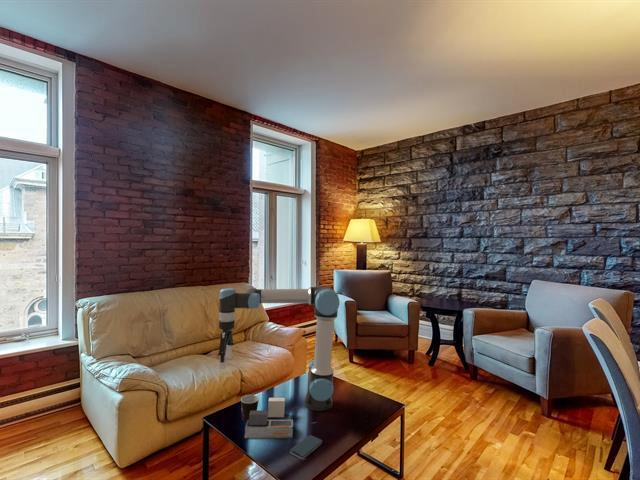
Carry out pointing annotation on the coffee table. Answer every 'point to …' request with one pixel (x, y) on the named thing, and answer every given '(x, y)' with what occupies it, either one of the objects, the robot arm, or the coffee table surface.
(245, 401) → the coffee mug
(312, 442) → the smartphone
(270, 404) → the beige rectangular block
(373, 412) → the coffee table surface
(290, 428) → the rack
